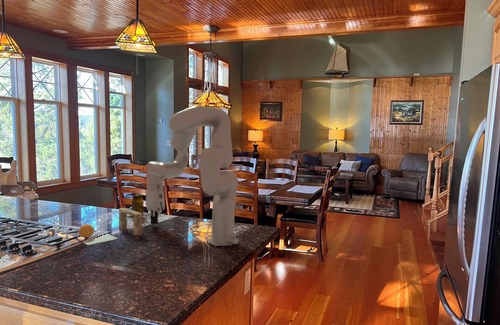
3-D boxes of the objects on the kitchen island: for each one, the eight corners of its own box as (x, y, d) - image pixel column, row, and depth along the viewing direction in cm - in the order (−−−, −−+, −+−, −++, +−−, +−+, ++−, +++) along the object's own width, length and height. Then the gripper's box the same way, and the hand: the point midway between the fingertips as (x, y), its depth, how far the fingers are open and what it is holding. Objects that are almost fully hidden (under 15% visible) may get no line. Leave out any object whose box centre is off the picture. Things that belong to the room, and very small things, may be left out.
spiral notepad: (117, 238, 154) (117, 238, 154) (87, 245, 144) (87, 244, 144) (103, 232, 162) (103, 231, 162) (74, 237, 153) (74, 237, 153)
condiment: (146, 217, 192) (146, 195, 191) (131, 219, 186) (131, 197, 185) (139, 214, 197) (140, 193, 196) (125, 216, 191) (125, 194, 190)
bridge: (124, 227, 171) (124, 207, 170) (141, 234, 161) (142, 213, 160) (118, 228, 169) (119, 208, 168) (135, 235, 159) (136, 214, 158)
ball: (84, 242, 150) (97, 236, 154) (80, 230, 148) (94, 224, 152) (78, 238, 154) (92, 231, 158) (74, 226, 152) (88, 220, 156)
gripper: (170, 188, 171) (169, 225, 173) (152, 184, 181) (152, 219, 183) (157, 189, 165) (156, 228, 167) (139, 185, 175) (139, 221, 177)
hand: (154, 223), depth 175 cm, fingers closed
